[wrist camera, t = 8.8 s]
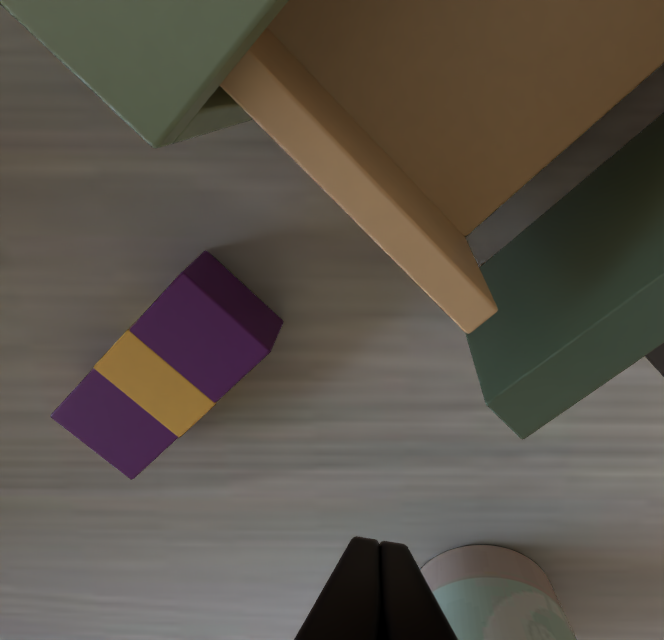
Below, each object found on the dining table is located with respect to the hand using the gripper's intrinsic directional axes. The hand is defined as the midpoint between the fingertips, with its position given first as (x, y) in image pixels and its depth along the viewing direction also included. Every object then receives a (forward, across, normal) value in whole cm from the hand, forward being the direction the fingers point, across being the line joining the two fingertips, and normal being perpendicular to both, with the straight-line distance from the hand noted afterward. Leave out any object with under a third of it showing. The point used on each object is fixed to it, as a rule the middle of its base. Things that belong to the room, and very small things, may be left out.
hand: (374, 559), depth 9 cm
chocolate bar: (+11, +7, +3) cm, 14 cm away
